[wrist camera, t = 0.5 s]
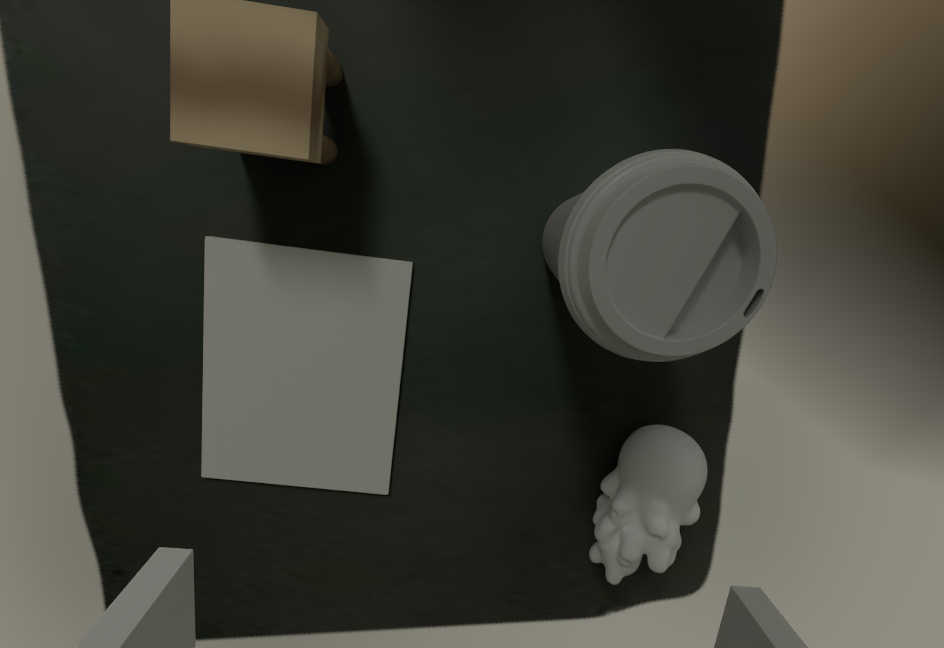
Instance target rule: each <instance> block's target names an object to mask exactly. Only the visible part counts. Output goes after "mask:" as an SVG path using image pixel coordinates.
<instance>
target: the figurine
mask: <svg viewBox="0 0 944 648" xmlns="http://www.w3.org/2000/svg"><path fill="white" fill-rule="evenodd" d="M706 479H707V462H706V458H705V455H704V453H703V451H702V449H701V448H700V446H699V445H698V444H697V443H696V442H695V441H694V440H693V439H692V438H691V437H690V436H689V435H687V434H686V433H684V432H682V431H681V430H678V429H676V428H673V427H670V426H666V425H648V426H644V427H642V428H640V429H638V430H636V431H635V432H633V433H632V434H631V435H630V436H629V437H628V438H627V440H626V441H625V443H624V444H623V446H622V448H621V451H620V454H619V458H618V465H617V467H616V468H615V469H614V470H613V471H612V472H611V473H610V474H608V475H607V476H606V477H605V478H604V479H603V480H602V482H601V490H602V491H603V492H604V493H603V494H602V495H601V496H600V497H599V498H598V499H597V509H596V511H595V514H594V516H593V523H594V524H595V525H596V526H595V529H594V534H595V538H596V539H597V542H596V543H595V544H594V545H593V546H592V547H591V549H590V551H589V557H590V559H591V561H592V562H594V563H603V564H604V566H605V569H606V571H605V575H606V579H607V581H608V582H609V583H611V584H613V585H616V584H618V583H619V582H620V581H621V579H622V578H623V577H624V576H628V575H630V574H632V573H634V572H635V571H636V570H637V568H638V567H639V565H640V562H641V558H642V555H643V554H646V555H647V557H648V565H649V567H650V569H651V570H652V571H654V572H657V573H663V572H665V571H666V570H667V568H668V567H669V566H671V565H672V564H673V562H674V560H675V557H676V553H677V550H678V549H679V548H680V546H681V536H680V531H679V527H680V525H692V524H694V523H695V522H696V521H697V520H698V518H699V516H700V508H699V505H698V503H697V499H698V497H699V496H700V494H701V493H702V491H703V489H704V486H705V483H706Z"/></svg>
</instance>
